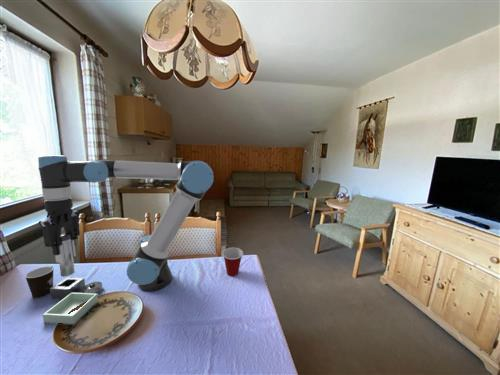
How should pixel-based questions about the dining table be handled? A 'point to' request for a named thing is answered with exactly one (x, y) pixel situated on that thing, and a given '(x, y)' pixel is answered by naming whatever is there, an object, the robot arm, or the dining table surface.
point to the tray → (70, 308)
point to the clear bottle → (67, 256)
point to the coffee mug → (40, 281)
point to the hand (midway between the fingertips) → (66, 258)
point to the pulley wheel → (92, 288)
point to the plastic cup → (232, 260)
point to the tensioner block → (67, 287)
